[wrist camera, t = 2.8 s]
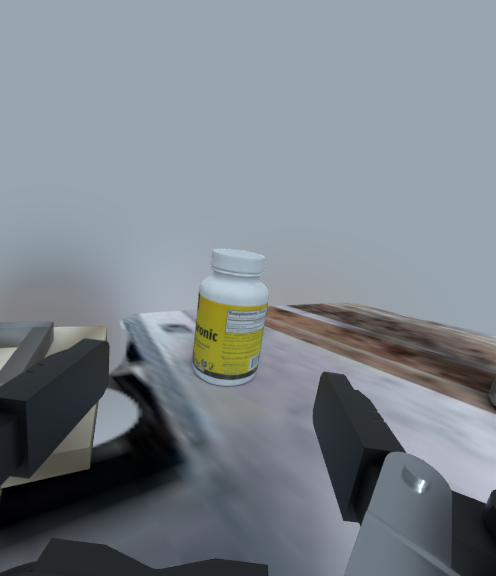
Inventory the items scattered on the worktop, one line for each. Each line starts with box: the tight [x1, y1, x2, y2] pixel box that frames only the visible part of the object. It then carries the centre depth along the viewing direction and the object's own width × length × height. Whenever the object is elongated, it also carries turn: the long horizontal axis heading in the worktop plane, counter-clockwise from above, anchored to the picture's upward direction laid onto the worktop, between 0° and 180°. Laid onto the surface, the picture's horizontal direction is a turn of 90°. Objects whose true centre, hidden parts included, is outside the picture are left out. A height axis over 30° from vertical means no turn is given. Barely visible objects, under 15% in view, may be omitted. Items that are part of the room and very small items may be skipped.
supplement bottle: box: [192, 249, 269, 386], centre depth 21 cm, size 5×5×10 cm
